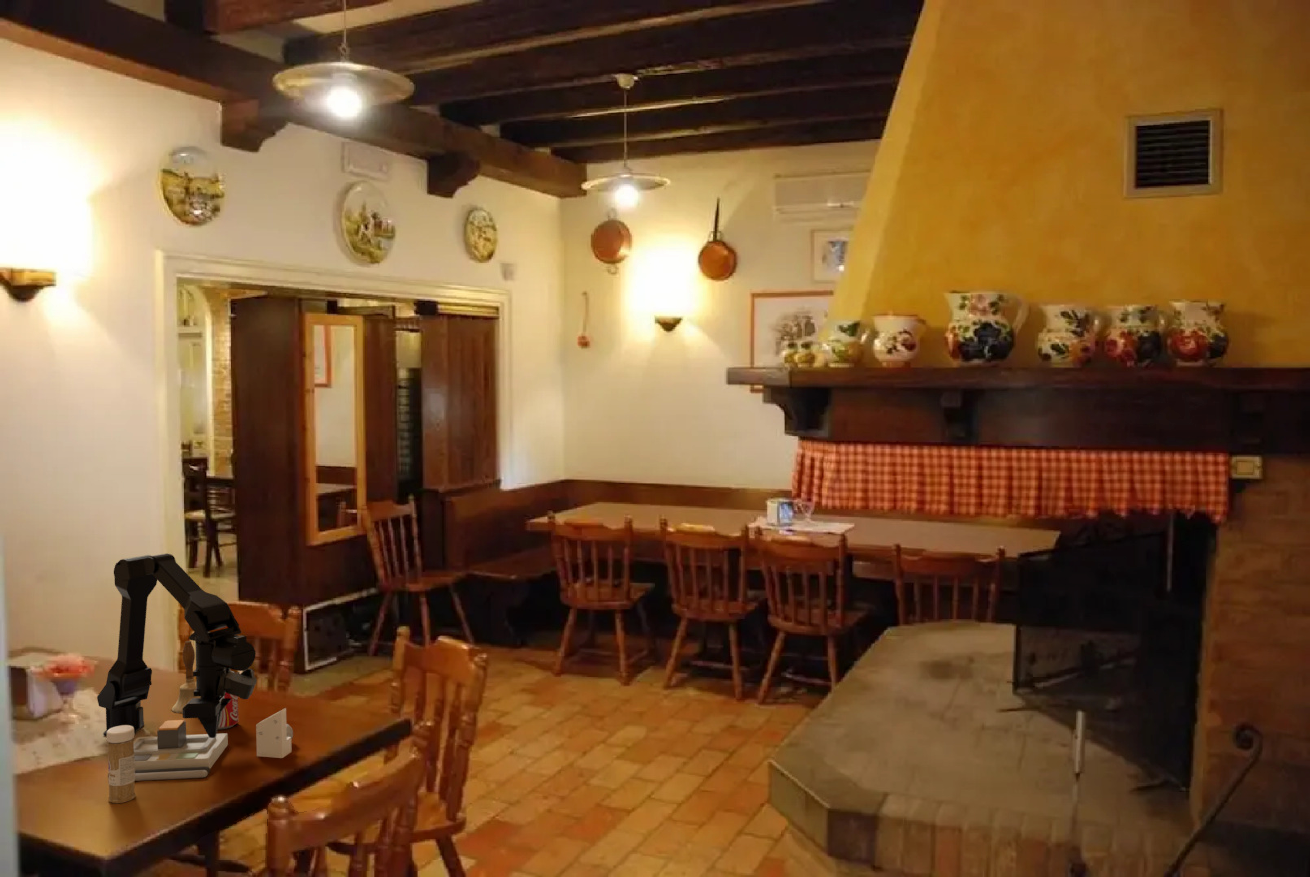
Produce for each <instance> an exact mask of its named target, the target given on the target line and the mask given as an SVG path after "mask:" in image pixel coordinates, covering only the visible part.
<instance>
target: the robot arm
mask: <svg viewBox="0 0 1310 877" xmlns="http://www.w3.org/2000/svg"><path fill="white" fill-rule="evenodd" d="M113 576H114V586H115V587H116V589H117V591H118V592H119V594H120V596H121V606H120V609H121V610H120V617H119V618H120V619H119V630H118V631H119V633H118V648H117V659H116V660H115V662H114V663H113V665H112V666H111V667H110V669H109V670H108V672H107V677H106V684H105V685H104V686H103V688H102V689H101V691H100V692H99V693H98V695H97V696H96V699H97V703H98V706H99V707H101V708H102V709H103V708H104V709H105V721H106V722H105V725H106V726H105V727H106V730H105V731H104V732H103V734H102V735H103V736H107V731H108V730H109V729H110V728H113V727H116V726H121V725H129V726H133V727H134V734H136V733H137V732H138V731H139V730H140V729H141V728H142V727H143V726H144V725H145V719H144V706H142V704H141V702H142V701H145V700H148V698H149V693H150V692H149V691H150V687H151V686H152V685H153V684H152V674H153V670H152V668H150V667H149V666H148V665H147V664H146V662H145V661H144V647H145V634H146V623H147V622H146V621H147V619H146V618H147V609H148V608H147V607H148V598H149V596H150V595H151V593H152V592H153V591H154V589H155V587H156V586H157V584H158V582H159V584H161V586H162V587H164V588H165V590H166V591H167V592H168V593H169V594H170V595H171V596H172V597H173V598H174V599H175V600H176V601H177V603H178V604H179V605H181V607H182V608H183V610H184V613H183V614H184V617H183V618H184V620H185V621H186V623H187V625H188V627H190V628H191V630H192V631H193V633H192V634H191V635H189V637H188V640H189V641H193V642H194V643H195V645H194V646H195V649H194V650H195V669H193V677H194V678H195V679H196V680H195V682H196V690H195V691H194V696H200V698H192V699H191V700H190V701H189V702H188V703H187V704H186V705H185V706H184V708H183V713H182V718H183V719H198V721H199V722H200V724H201V725H202V727H203V729H204V731H205V732H206V734H208V736H209V737H210V738H215V737H216V734H218V730H219V729H218V726H219V722H220V717H221V713H222V710H223V709H224V708H225V707H226V705H227V704H228V703H229V702H230V701H231V698H224V695H225V693H228V694H231V695H234V696H238V698H239V699H242V700H249V698H250V696H252V695H253V692H254V689H255V686H256V684H257V681H258V679H257V677H256V676H255V673H254V669H253V668H250V667H252V665H253V663H254V662H255V659H256V650H255V647H254V646H253V644H252V643H250V642H248V641H247V636H246V635H240V634H242V630H241V628H240V627H239V626H240V624H239V622H238V621H237V619H236V618H235V615H234V613H233V611H232V609H231V608H230V606H229V604H228V603H227V602H226V601H225V600H224V599H222V598H221V597H220V596H218V595H216V594H213V593H211V592H210V593H209V592H207V591H205V590H204V589H202V588H201V587H200V586H199V584H197V582H196V581H194V580H193V578H192V577H191V576H190V575H189V574H188V573H187V572H186V571H185V569H183V568H182V567H181V566H180V565H179V564H178V563H177V560H176V558H175V556H174V555H173V554H171V553H161V554H155V555H151V554H146V555H139V556H135V557H128V558H122V559H120V560H118V561H117V562H116V563H115V565H114V568H113ZM232 670H234V671H233V672H231V671H232ZM235 671H237V672H235ZM240 672H241V673H240Z"/></svg>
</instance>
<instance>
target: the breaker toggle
mask: <svg viewBox="0 0 1310 877" xmlns="http://www.w3.org/2000/svg"><path fill="white" fill-rule="evenodd" d="M156 731H157V732H156V733H157V734H156V736H157V741H158V749H172V748H180V747H181V746H182V745H183V744H184V743H185V742H186V735H187V721H186V720H185V719H173V720H165V721H164V722H163V723H162V724H161V725H160V727H159V728H158V730H156Z"/></svg>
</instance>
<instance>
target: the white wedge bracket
mask: <svg viewBox="0 0 1310 877" xmlns="http://www.w3.org/2000/svg"><path fill="white" fill-rule="evenodd" d="M286 724H287V707H285V708H283V709H282V710H279V711H278V712H276V713H274V714H272V715H270V716H268V717H266V718H265V719H263V720H261V721H260V722H258V723H256V724H255V733H256V734H255V736H256V739H255V740H256V757H263V758H266V757H267V758H277V759H278V758H279V759H283V758H285V757H286V756H288V755H289V754H291V753H292V750H293V749H292V739H291V737H287V730H286Z"/></svg>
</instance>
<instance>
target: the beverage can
mask: <svg viewBox="0 0 1310 877" xmlns="http://www.w3.org/2000/svg"><path fill="white" fill-rule="evenodd" d="M231 672H234V671H233V670H231ZM224 698H231V701H230V702H229V703H228V704H227V705H226V707H225V708H224V709H223V710H222V713H221V717H220V722H219V726H218V730H225V729H230V728H232V727H234V726H235V725H236V724H237V723H239V697H238V696H234V695H231V694H228V693H225V695H224Z"/></svg>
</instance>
